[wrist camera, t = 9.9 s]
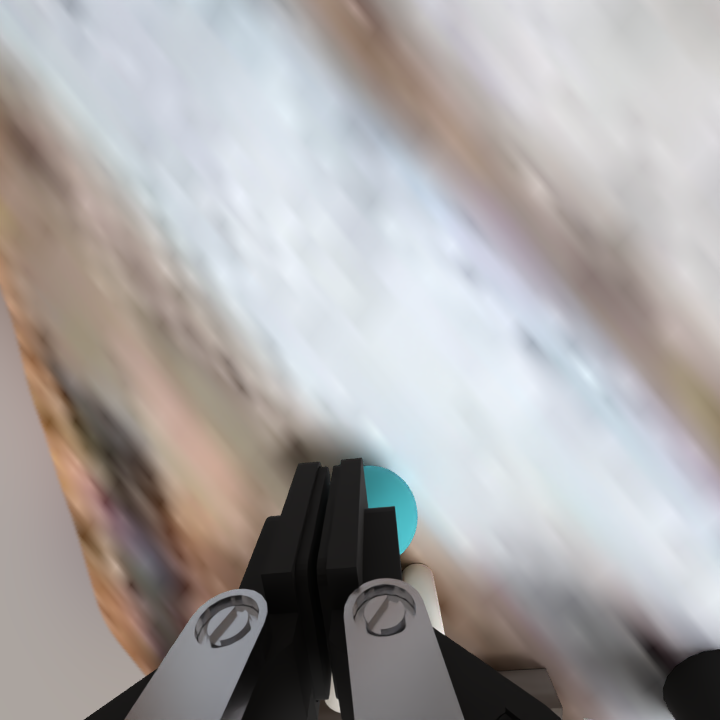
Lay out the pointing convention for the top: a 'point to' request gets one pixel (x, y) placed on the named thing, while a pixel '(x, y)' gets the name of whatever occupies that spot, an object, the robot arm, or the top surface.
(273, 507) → the top surface
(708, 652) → the wine bottle
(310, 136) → the top surface
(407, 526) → the ball
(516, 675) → the back wall
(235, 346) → the top surface
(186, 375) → the top surface
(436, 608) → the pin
